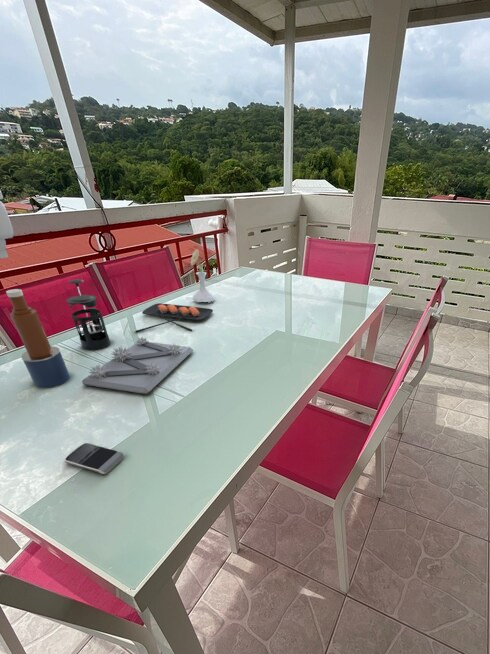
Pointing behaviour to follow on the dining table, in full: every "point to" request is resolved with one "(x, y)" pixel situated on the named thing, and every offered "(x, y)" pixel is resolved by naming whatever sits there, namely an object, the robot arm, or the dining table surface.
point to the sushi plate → (176, 313)
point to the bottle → (28, 325)
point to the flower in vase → (201, 283)
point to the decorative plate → (138, 366)
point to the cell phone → (94, 458)
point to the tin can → (47, 369)
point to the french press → (91, 330)
